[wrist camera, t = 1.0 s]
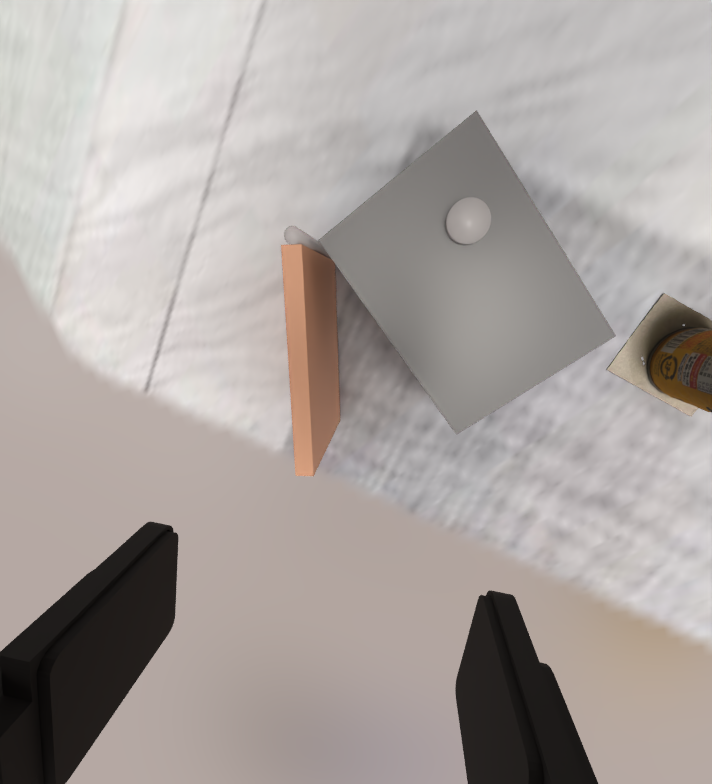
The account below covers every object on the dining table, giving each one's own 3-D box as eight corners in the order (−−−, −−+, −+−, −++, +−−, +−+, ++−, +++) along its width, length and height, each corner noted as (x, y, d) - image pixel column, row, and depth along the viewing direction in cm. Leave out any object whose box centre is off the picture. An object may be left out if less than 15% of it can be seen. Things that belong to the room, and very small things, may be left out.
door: (334, 249, 34) (300, 225, 22) (340, 420, 38) (313, 476, 26) (311, 250, 34) (266, 227, 23) (319, 420, 38) (283, 475, 26)
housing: (451, 171, 32) (479, 103, 21) (548, 323, 34) (623, 337, 23) (343, 257, 35) (315, 238, 23) (440, 394, 37) (458, 438, 25)
